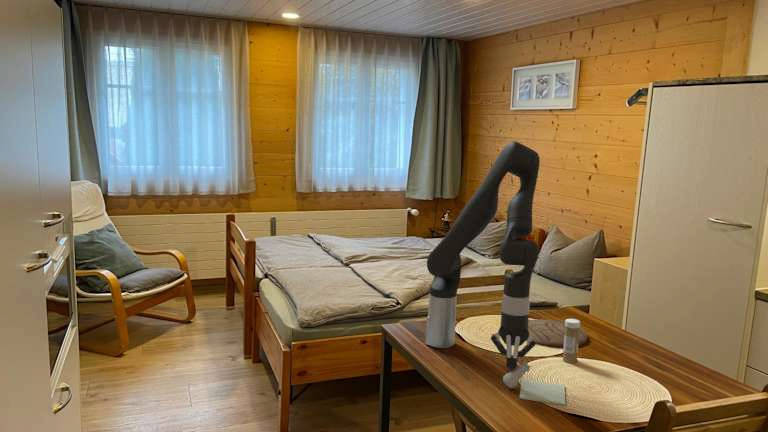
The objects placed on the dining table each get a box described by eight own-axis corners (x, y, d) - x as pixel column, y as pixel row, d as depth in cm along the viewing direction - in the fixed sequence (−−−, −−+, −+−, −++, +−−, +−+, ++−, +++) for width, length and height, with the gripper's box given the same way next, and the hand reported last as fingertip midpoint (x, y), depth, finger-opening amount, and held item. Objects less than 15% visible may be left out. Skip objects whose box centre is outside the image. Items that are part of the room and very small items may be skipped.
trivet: (535, 350, 196) (535, 345, 196) (503, 325, 220) (503, 321, 220) (601, 346, 202) (601, 341, 202) (563, 322, 226) (563, 317, 226)
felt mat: (519, 398, 160) (519, 396, 160) (521, 380, 171) (521, 379, 171) (565, 405, 157) (565, 403, 157) (564, 386, 168) (564, 385, 168)
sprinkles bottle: (579, 361, 187) (583, 321, 185) (570, 364, 184) (574, 323, 182) (568, 356, 191) (571, 317, 189) (559, 359, 188) (562, 319, 186)
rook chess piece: (500, 374, 168) (519, 355, 165) (512, 381, 169) (530, 363, 166) (503, 384, 164) (522, 366, 161) (515, 392, 165) (534, 373, 162)
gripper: (489, 311, 161) (486, 371, 164) (539, 317, 157) (534, 378, 160) (492, 303, 168) (489, 361, 171) (540, 309, 165) (535, 367, 167)
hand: (511, 369), depth 165 cm, fingers closed
